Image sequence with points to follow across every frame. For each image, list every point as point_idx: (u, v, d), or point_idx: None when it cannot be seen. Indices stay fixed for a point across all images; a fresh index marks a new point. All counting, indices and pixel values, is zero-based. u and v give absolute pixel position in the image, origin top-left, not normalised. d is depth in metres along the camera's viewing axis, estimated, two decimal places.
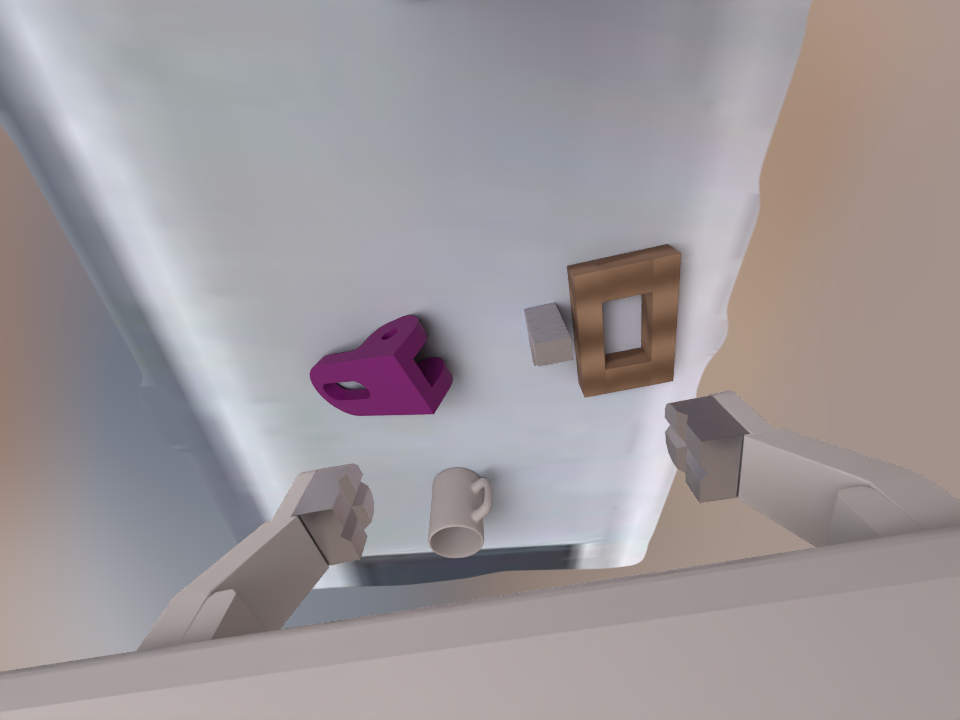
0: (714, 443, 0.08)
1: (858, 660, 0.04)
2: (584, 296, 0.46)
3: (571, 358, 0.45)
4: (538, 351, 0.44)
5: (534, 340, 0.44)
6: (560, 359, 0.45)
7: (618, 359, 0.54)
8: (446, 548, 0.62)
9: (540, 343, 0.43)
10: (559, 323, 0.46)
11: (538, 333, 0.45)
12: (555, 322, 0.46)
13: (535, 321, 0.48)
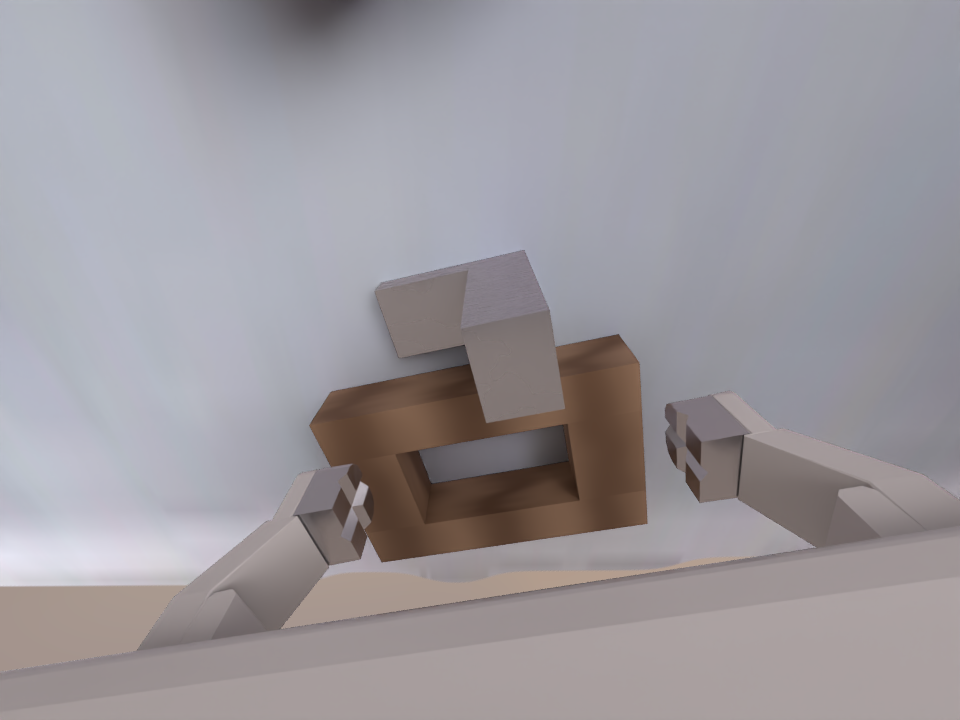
0: (714, 443, 0.08)
1: (858, 660, 0.04)
2: (585, 390, 0.21)
3: (490, 419, 0.15)
4: (520, 326, 0.13)
5: None
6: (486, 391, 0.14)
7: (411, 462, 0.25)
8: None
9: (550, 327, 0.13)
10: None
11: None
12: None
13: None
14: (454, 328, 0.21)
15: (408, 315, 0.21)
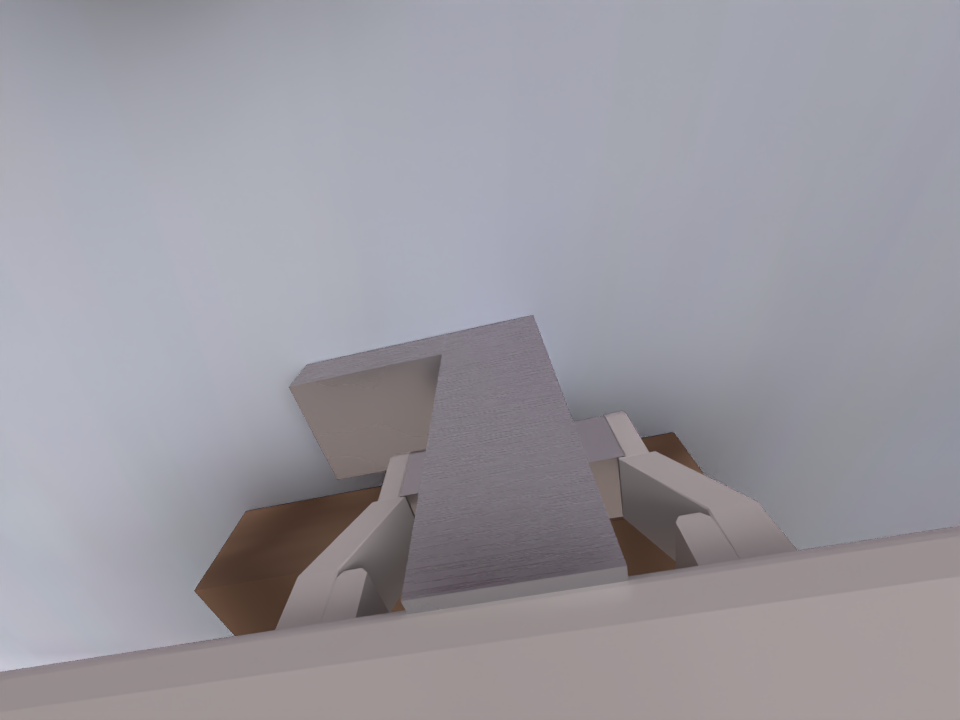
0: (592, 465, 0.08)
1: (858, 660, 0.04)
2: (634, 540, 0.13)
3: None
4: None
5: None
6: None
7: None
8: None
9: None
10: None
11: None
12: None
13: None
14: (423, 438, 0.13)
15: (347, 421, 0.13)
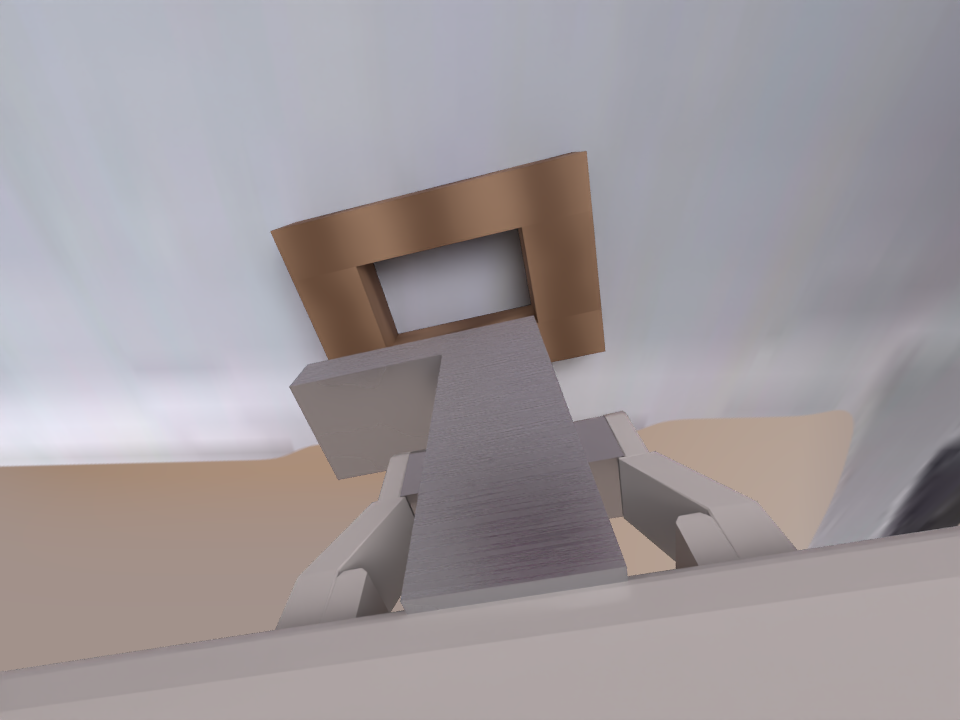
0: (592, 465, 0.08)
1: (858, 660, 0.04)
2: (537, 185, 0.22)
3: None
4: None
5: (608, 523, 0.06)
6: None
7: (375, 294, 0.26)
8: None
9: None
10: None
11: None
12: None
13: None
14: (423, 438, 0.13)
15: (348, 421, 0.13)
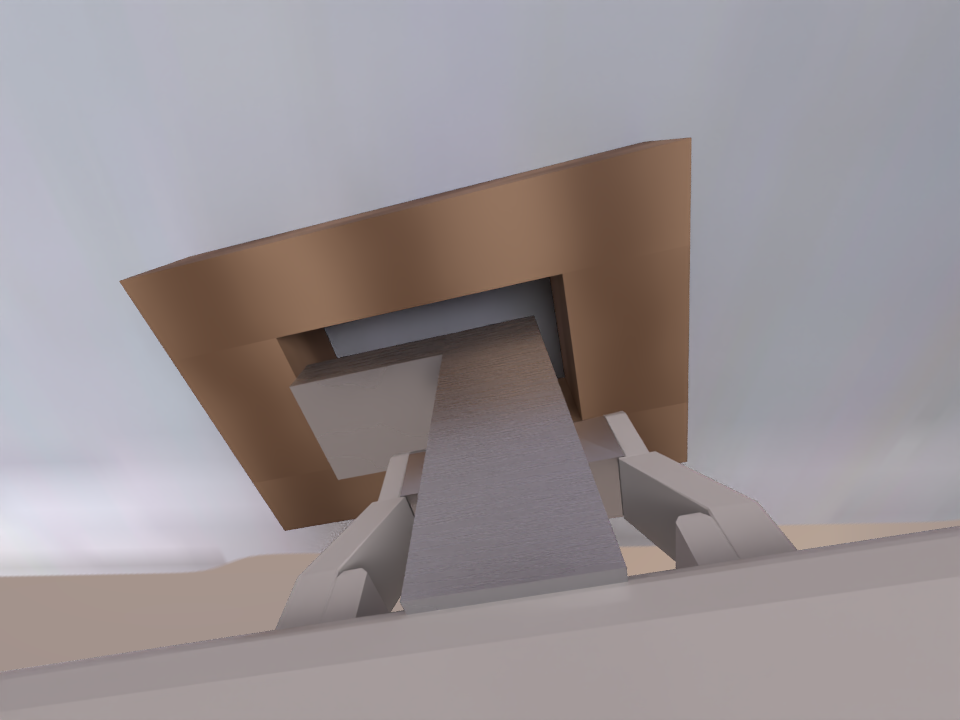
0: (592, 465, 0.08)
1: (858, 660, 0.04)
2: (594, 201, 0.12)
3: None
4: None
5: (608, 524, 0.06)
6: None
7: None
8: None
9: None
10: None
11: None
12: None
13: None
14: (423, 438, 0.13)
15: (348, 421, 0.13)
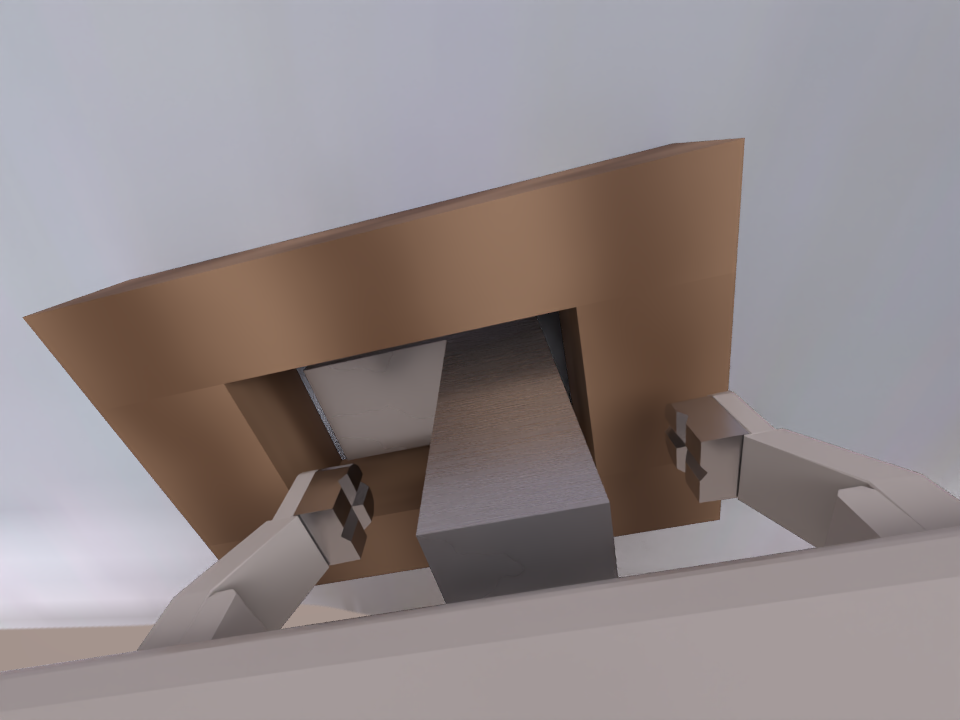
0: (714, 443, 0.08)
1: (858, 660, 0.04)
2: (617, 219, 0.09)
3: None
4: (544, 531, 0.06)
5: None
6: None
7: (286, 413, 0.14)
8: None
9: (609, 531, 0.06)
10: None
11: None
12: None
13: None
14: (428, 420, 0.14)
15: (358, 403, 0.14)
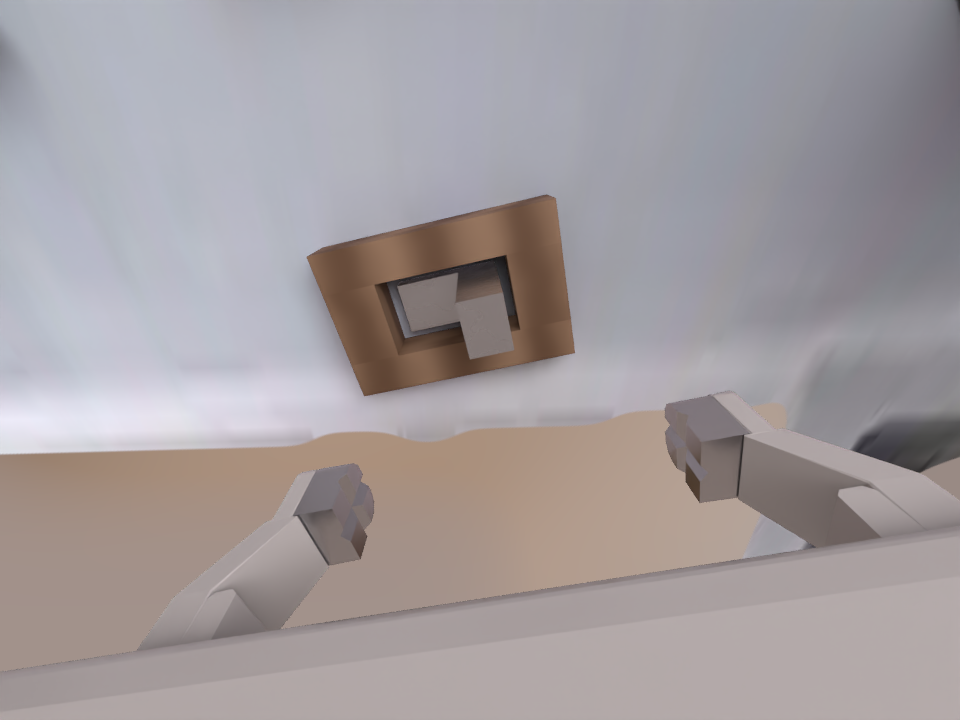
0: (714, 443, 0.08)
1: (858, 660, 0.04)
2: (518, 223, 0.28)
3: (472, 357, 0.26)
4: (487, 301, 0.24)
5: (502, 291, 0.25)
6: (470, 339, 0.25)
7: (388, 306, 0.32)
8: None
9: (503, 302, 0.24)
10: None
11: None
12: None
13: None
14: (449, 311, 0.32)
15: (418, 302, 0.32)
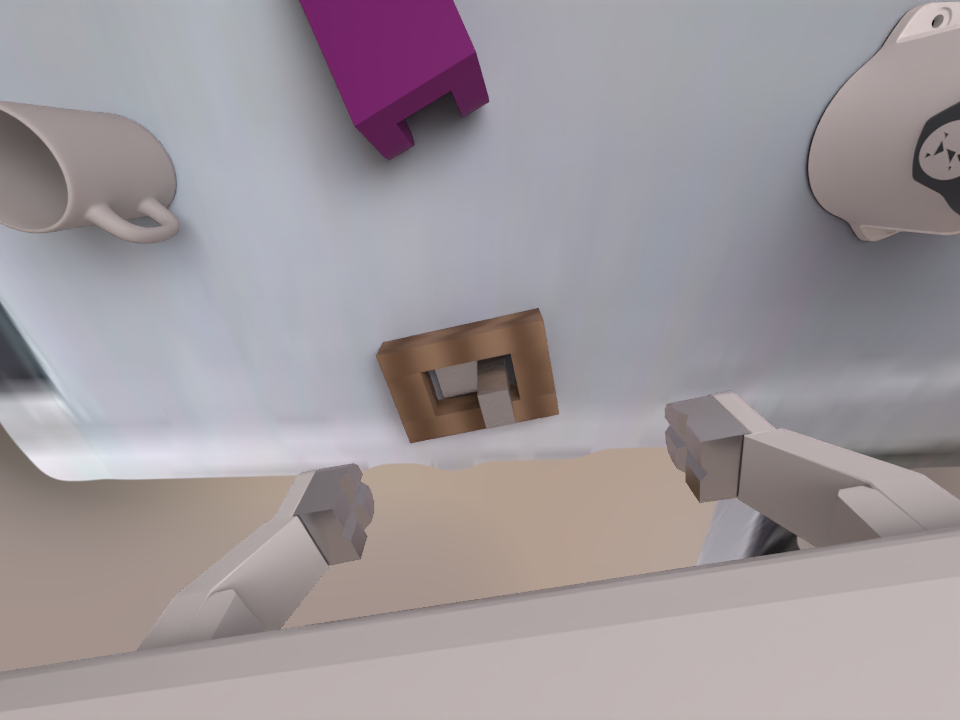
0: (714, 443, 0.08)
1: (858, 660, 0.04)
2: (518, 334, 0.41)
3: (487, 427, 0.40)
4: (498, 395, 0.38)
5: (507, 386, 0.38)
6: (486, 416, 0.39)
7: (428, 382, 0.46)
8: None
9: (508, 395, 0.38)
10: (511, 399, 0.42)
11: None
12: (510, 394, 0.42)
13: (506, 372, 0.43)
14: (470, 384, 0.46)
15: (449, 379, 0.46)
